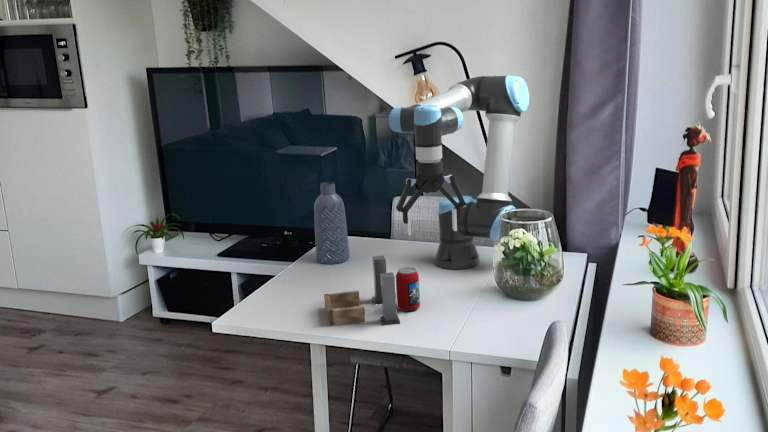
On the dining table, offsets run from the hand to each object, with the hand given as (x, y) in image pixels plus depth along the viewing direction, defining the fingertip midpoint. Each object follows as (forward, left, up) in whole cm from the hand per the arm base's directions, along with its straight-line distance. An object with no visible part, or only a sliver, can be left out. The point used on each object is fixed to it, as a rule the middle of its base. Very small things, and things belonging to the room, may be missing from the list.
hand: (432, 232), depth 222 cm
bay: (+27, 0, -23) cm, 35 cm away
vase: (+26, -55, -23) cm, 65 cm away
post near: (+15, +8, -23) cm, 29 cm away
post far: (+15, -8, -23) cm, 28 cm away
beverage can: (+8, 0, -23) cm, 24 cm away
